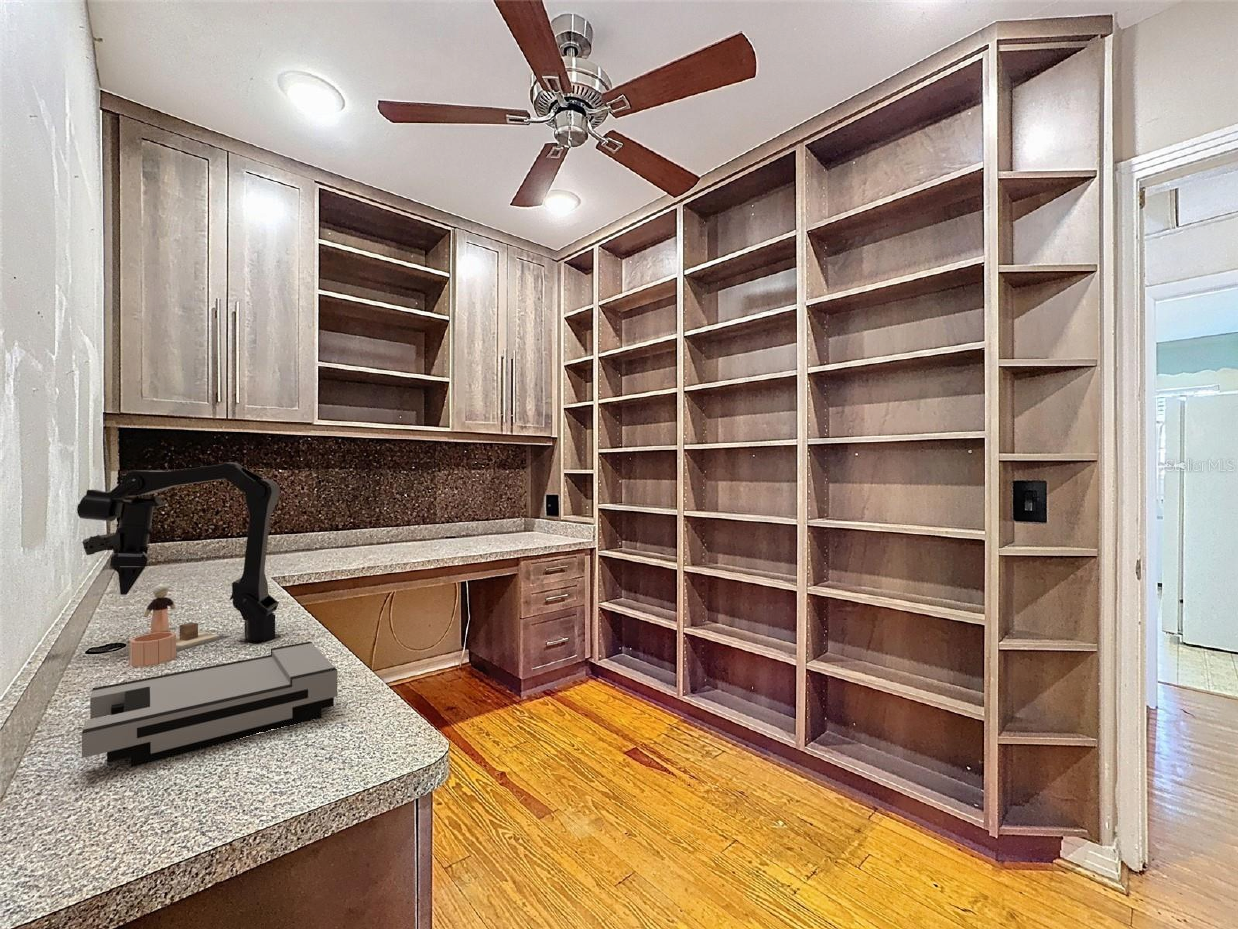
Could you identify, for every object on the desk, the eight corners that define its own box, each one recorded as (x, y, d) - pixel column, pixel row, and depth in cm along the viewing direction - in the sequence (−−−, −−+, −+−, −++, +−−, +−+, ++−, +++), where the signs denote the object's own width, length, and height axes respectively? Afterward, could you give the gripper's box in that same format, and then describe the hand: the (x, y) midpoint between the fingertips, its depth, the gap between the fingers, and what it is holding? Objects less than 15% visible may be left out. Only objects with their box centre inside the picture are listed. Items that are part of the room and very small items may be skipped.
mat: (230, 638, 142) (230, 636, 142) (179, 653, 131) (179, 651, 131) (197, 633, 147) (197, 631, 147) (145, 647, 135) (145, 646, 135)
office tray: (92, 730, 93) (92, 680, 93) (310, 682, 114) (310, 641, 114) (81, 785, 77) (81, 724, 77) (337, 717, 98) (337, 669, 98)
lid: (220, 637, 142) (220, 621, 142) (181, 648, 133) (181, 631, 133) (195, 634, 145) (195, 618, 145) (156, 644, 136) (156, 627, 136)
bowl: (184, 658, 128) (184, 633, 128) (144, 670, 120) (144, 644, 120) (161, 654, 130) (161, 630, 130) (121, 666, 123) (121, 640, 123)
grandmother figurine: (156, 638, 143) (155, 587, 143) (141, 638, 143) (140, 587, 143) (180, 629, 151) (180, 581, 151) (166, 629, 151) (165, 581, 151)
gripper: (92, 516, 136) (81, 581, 135) (85, 527, 121) (72, 600, 121) (152, 519, 143) (142, 581, 142) (152, 530, 128) (140, 599, 128)
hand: (124, 590), depth 133 cm, fingers open, 9 cm apart
